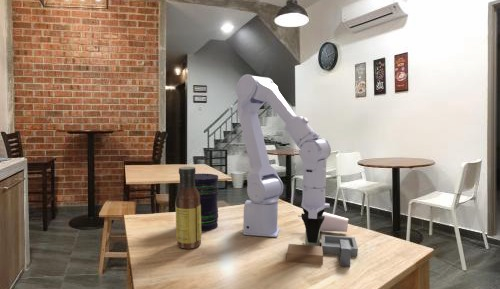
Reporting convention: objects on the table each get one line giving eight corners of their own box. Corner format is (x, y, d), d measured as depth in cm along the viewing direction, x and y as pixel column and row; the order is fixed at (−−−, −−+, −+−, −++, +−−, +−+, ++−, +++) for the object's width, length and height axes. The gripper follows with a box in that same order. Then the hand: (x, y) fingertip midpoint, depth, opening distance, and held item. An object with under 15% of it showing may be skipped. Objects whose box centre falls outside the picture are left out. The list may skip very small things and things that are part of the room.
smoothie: (349, 211, 101) (298, 204, 104) (346, 234, 98) (295, 226, 102) (348, 216, 106) (300, 209, 110) (345, 238, 104) (297, 230, 107)
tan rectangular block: (286, 263, 83) (287, 252, 82) (288, 253, 89) (288, 243, 88) (322, 266, 81) (323, 255, 81) (321, 256, 87) (322, 246, 87)
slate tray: (321, 253, 88) (321, 245, 88) (321, 241, 96) (321, 234, 96) (357, 256, 86) (357, 248, 86) (354, 244, 95) (354, 237, 94)
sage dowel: (304, 246, 92) (305, 221, 91) (305, 241, 96) (306, 217, 95) (319, 248, 91) (320, 222, 91) (319, 243, 95) (320, 218, 94)
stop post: (340, 266, 80) (341, 248, 80) (339, 255, 86) (340, 239, 86) (350, 266, 80) (350, 249, 80) (348, 256, 86) (348, 240, 86)
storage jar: (204, 233, 101) (205, 180, 100) (177, 227, 106) (177, 176, 104) (224, 224, 109) (225, 175, 108) (198, 219, 114) (198, 172, 113)
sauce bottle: (191, 239, 96) (192, 164, 94) (206, 245, 91) (207, 167, 90) (170, 245, 91) (170, 167, 90) (184, 252, 87) (184, 170, 85)
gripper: (331, 193, 84) (329, 250, 85) (329, 182, 99) (327, 231, 100) (300, 191, 86) (298, 247, 87) (303, 180, 100) (301, 229, 101)
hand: (312, 238), depth 93 cm, fingers open, 5 cm apart
